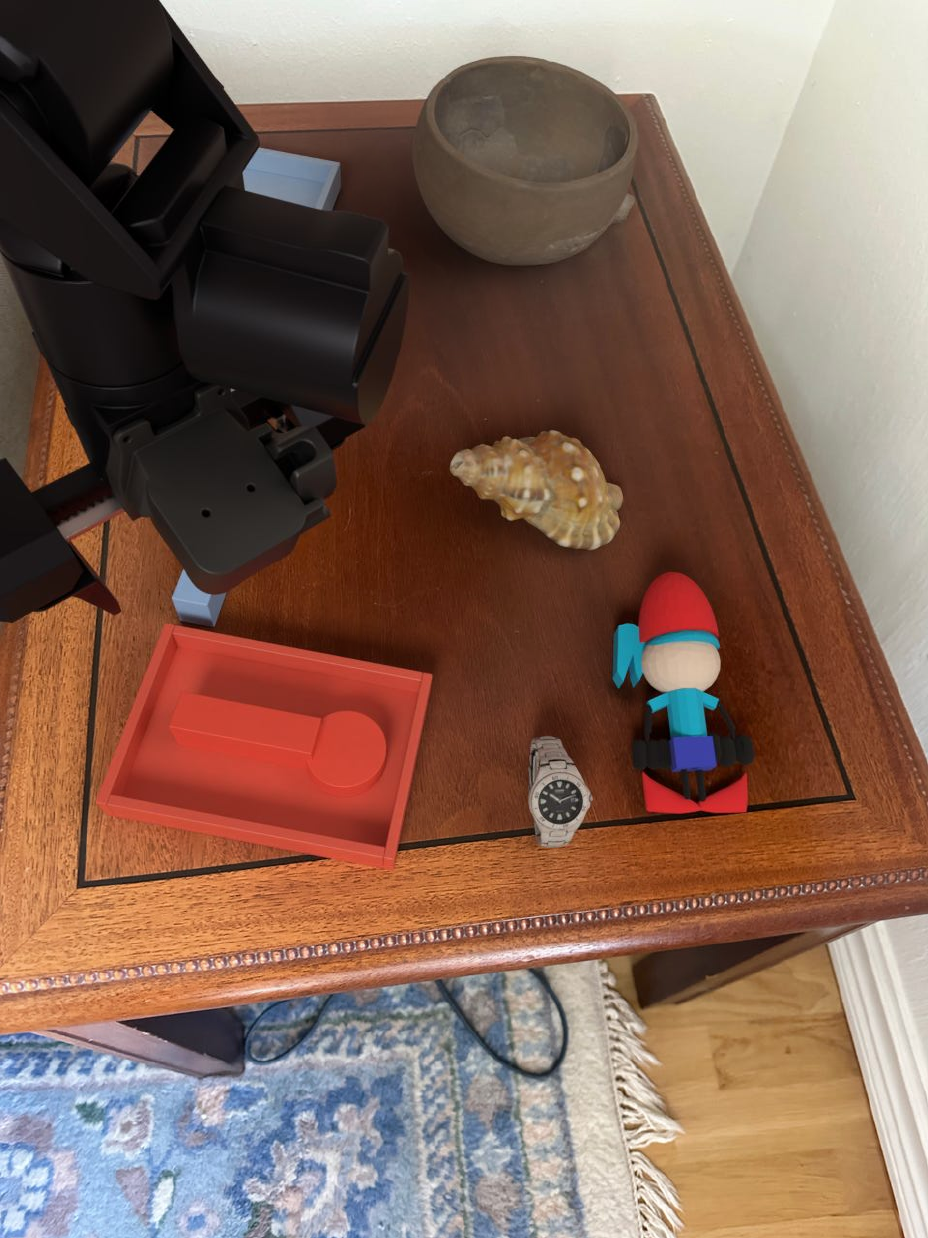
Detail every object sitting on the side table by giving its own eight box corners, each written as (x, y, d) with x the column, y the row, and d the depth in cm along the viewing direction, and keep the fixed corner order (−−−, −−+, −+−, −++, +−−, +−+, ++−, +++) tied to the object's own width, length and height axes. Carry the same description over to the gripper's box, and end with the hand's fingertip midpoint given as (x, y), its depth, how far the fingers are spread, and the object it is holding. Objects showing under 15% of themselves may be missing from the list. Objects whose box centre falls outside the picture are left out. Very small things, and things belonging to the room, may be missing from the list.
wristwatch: (522, 856, 51) (535, 830, 46) (511, 752, 54) (523, 719, 49) (583, 853, 51) (602, 827, 47) (569, 750, 54) (586, 717, 50)
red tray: (106, 815, 50) (94, 802, 48) (172, 640, 55) (165, 622, 53) (393, 870, 50) (394, 860, 48) (430, 690, 55) (433, 673, 53)
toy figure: (749, 815, 55) (714, 585, 60) (777, 804, 50) (737, 556, 55) (625, 821, 54) (601, 590, 59) (641, 810, 50) (613, 560, 55)
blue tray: (292, 314, 70) (289, 290, 68) (151, 287, 70) (144, 263, 68) (341, 186, 78) (340, 162, 76) (214, 163, 78) (210, 137, 76)
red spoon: (170, 764, 51) (160, 746, 49) (196, 692, 53) (187, 671, 51) (376, 804, 51) (376, 788, 49) (393, 730, 53) (394, 711, 51)
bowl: (654, 234, 79) (689, 123, 70) (520, 330, 71) (540, 220, 63) (508, 139, 83) (524, 24, 75) (368, 220, 76) (368, 103, 68)
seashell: (524, 598, 63) (465, 517, 55) (493, 517, 68) (434, 432, 60) (645, 537, 61) (602, 445, 53) (604, 458, 66) (559, 363, 58)
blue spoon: (233, 631, 56) (226, 609, 54) (160, 617, 56) (151, 594, 54) (284, 483, 62) (280, 456, 60) (218, 470, 62) (212, 444, 60)
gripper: (-23, 614, 27) (109, 785, 41) (453, 355, 34) (431, 575, 48) (-173, 388, 31) (-6, 614, 44) (284, 196, 38) (308, 442, 51)
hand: (194, 561), depth 47 cm, fingers open, 9 cm apart
